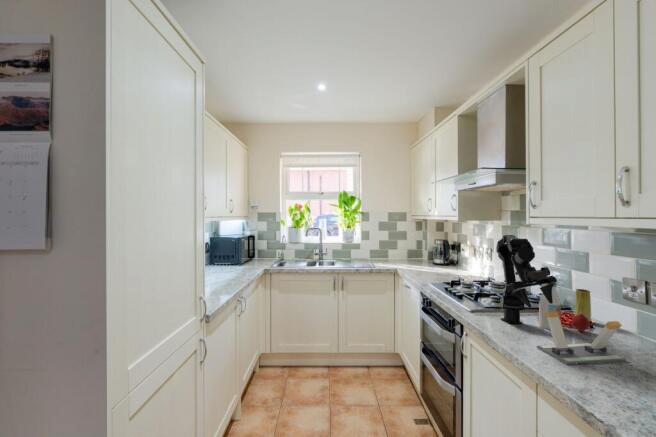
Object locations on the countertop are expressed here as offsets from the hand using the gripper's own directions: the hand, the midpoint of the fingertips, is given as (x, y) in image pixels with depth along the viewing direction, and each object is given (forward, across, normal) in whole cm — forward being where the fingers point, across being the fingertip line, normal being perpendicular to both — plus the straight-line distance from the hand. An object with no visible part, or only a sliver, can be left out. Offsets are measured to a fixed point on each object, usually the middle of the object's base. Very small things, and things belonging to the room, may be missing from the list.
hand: (540, 305), depth 123 cm
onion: (+12, +23, +14) cm, 29 cm away
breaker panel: (+19, +3, -3) cm, 19 cm away
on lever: (+18, +10, -4) cm, 21 cm away
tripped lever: (+16, -3, -5) cm, 17 cm away
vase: (+8, +35, +24) cm, 43 cm away
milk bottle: (+8, +14, +19) cm, 25 cm away
